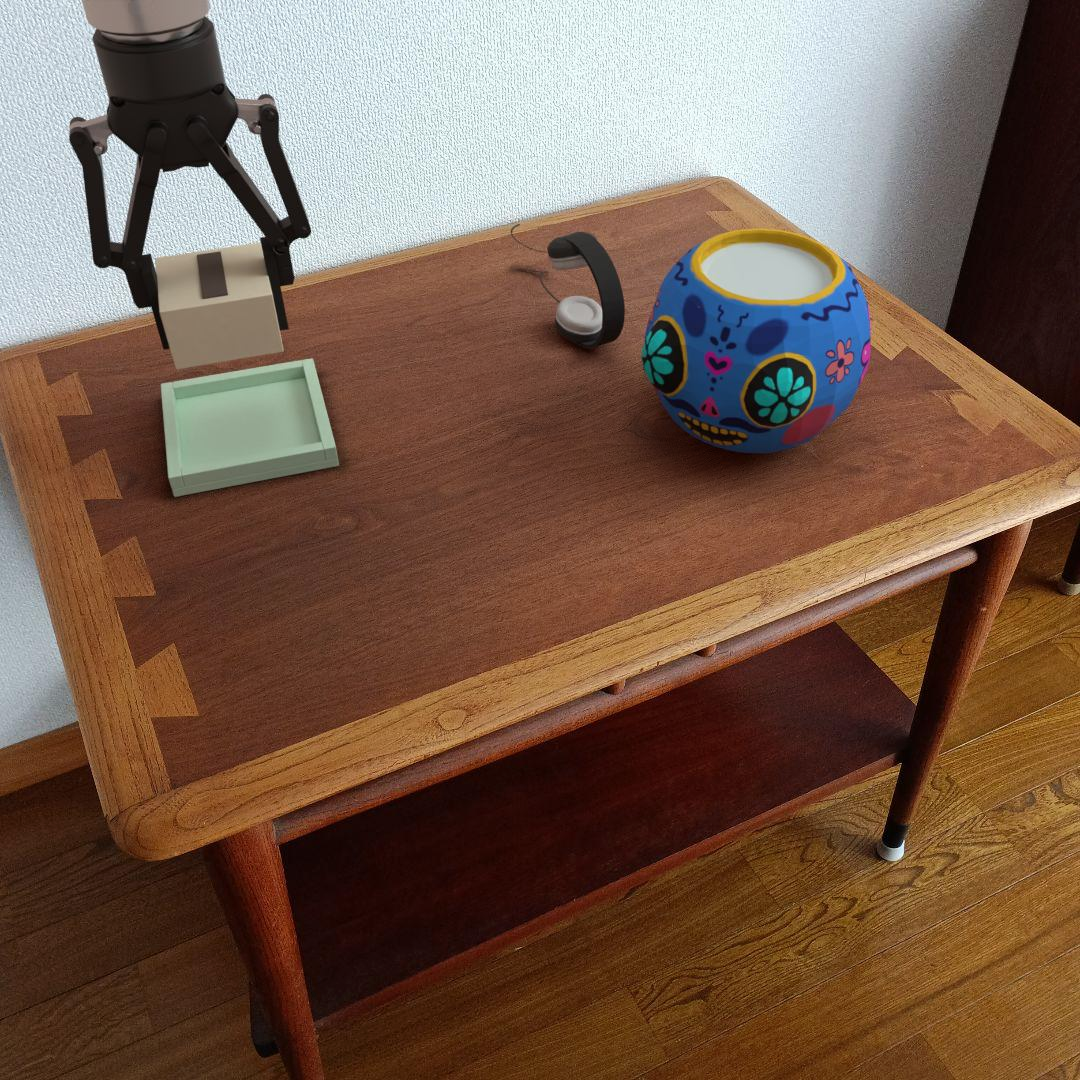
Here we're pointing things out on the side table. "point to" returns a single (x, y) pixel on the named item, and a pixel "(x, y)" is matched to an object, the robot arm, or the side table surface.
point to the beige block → (217, 305)
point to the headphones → (580, 313)
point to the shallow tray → (245, 427)
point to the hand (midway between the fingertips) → (225, 329)
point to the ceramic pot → (757, 340)
